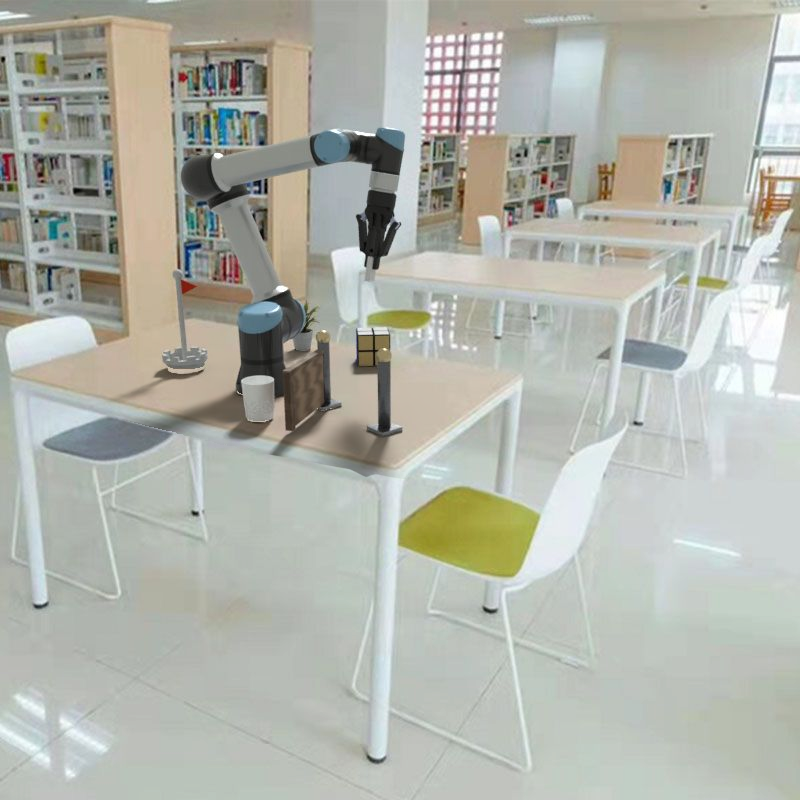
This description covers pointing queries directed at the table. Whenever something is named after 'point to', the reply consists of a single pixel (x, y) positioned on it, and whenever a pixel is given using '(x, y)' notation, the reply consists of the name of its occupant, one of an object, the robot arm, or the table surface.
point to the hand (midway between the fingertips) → (369, 280)
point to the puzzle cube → (371, 344)
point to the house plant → (305, 331)
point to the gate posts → (384, 387)
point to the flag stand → (183, 335)
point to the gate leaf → (303, 388)
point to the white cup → (258, 397)
